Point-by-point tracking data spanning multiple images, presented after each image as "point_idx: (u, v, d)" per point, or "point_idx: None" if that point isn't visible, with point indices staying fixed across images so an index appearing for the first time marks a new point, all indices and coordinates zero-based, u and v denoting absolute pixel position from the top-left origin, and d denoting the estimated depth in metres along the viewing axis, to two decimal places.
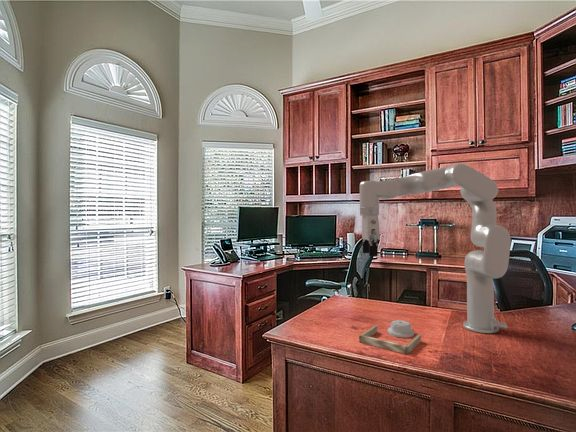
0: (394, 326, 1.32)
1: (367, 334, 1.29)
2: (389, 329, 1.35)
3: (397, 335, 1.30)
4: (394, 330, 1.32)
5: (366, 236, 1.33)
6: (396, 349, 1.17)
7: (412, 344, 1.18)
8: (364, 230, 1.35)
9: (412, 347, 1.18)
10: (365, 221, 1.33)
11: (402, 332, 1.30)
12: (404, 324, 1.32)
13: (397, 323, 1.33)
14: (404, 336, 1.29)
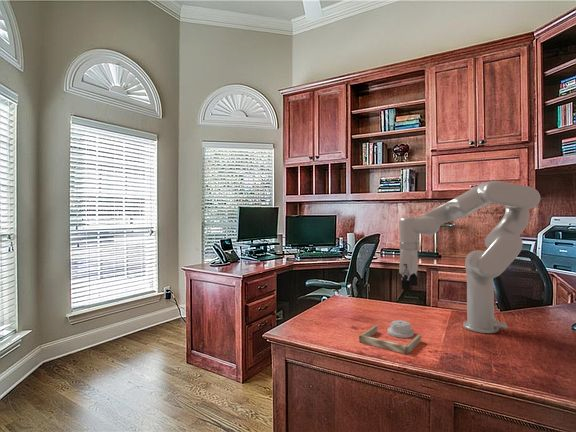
0: (394, 326, 1.32)
1: (367, 334, 1.29)
2: (389, 329, 1.35)
3: (397, 335, 1.30)
4: (394, 330, 1.32)
5: (416, 268, 1.43)
6: (396, 349, 1.17)
7: (412, 344, 1.18)
8: (416, 264, 1.42)
9: (412, 347, 1.18)
10: (416, 255, 1.43)
11: (402, 332, 1.30)
12: (404, 324, 1.32)
13: (397, 323, 1.33)
14: (404, 336, 1.29)
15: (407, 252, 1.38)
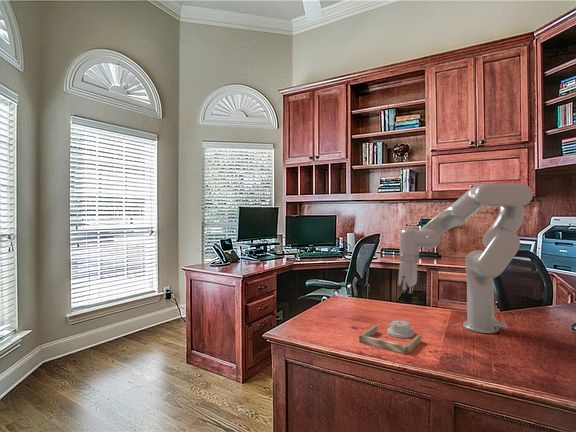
0: (394, 326, 1.32)
1: (367, 334, 1.29)
2: (389, 329, 1.35)
3: (397, 335, 1.30)
4: (394, 330, 1.32)
5: (415, 281, 1.44)
6: (396, 349, 1.17)
7: (412, 344, 1.18)
8: (415, 276, 1.42)
9: (412, 347, 1.18)
10: (416, 267, 1.43)
11: (402, 332, 1.30)
12: (404, 324, 1.32)
13: (397, 323, 1.33)
14: (404, 336, 1.29)
15: (406, 264, 1.39)
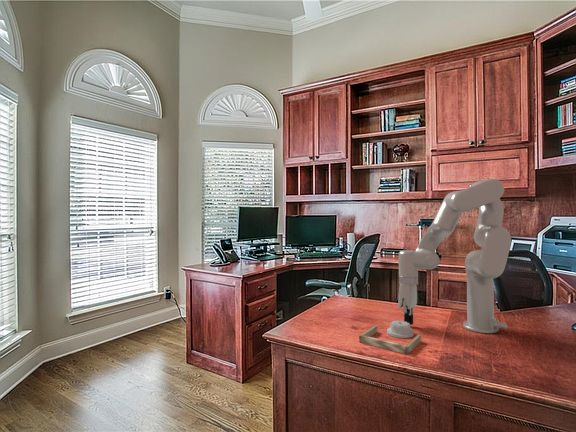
0: (393, 326, 1.32)
1: (367, 334, 1.29)
2: (388, 329, 1.35)
3: (396, 335, 1.30)
4: (393, 330, 1.32)
5: (416, 302, 1.42)
6: (396, 349, 1.17)
7: (412, 344, 1.18)
8: (415, 297, 1.41)
9: (412, 347, 1.18)
10: (416, 288, 1.42)
11: (401, 332, 1.30)
12: (403, 324, 1.32)
13: (396, 323, 1.33)
14: (403, 336, 1.29)
15: (406, 287, 1.37)
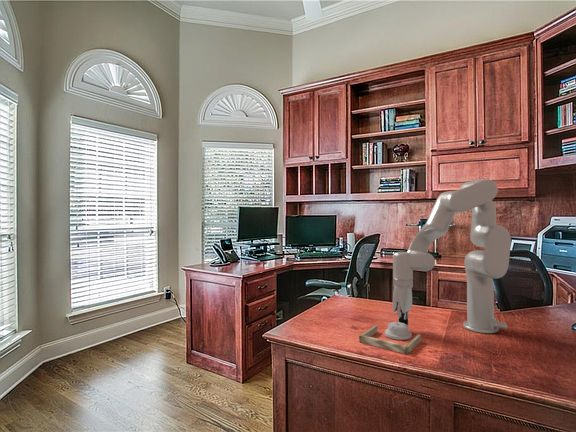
0: (391, 328, 1.30)
1: (367, 334, 1.29)
2: (386, 331, 1.33)
3: (394, 337, 1.28)
4: (391, 332, 1.30)
5: (411, 305, 1.37)
6: (396, 349, 1.17)
7: (412, 344, 1.18)
8: (410, 301, 1.36)
9: (412, 347, 1.18)
10: (411, 291, 1.37)
11: (399, 334, 1.28)
12: (401, 326, 1.30)
13: (394, 325, 1.31)
14: (401, 338, 1.27)
15: (400, 290, 1.32)
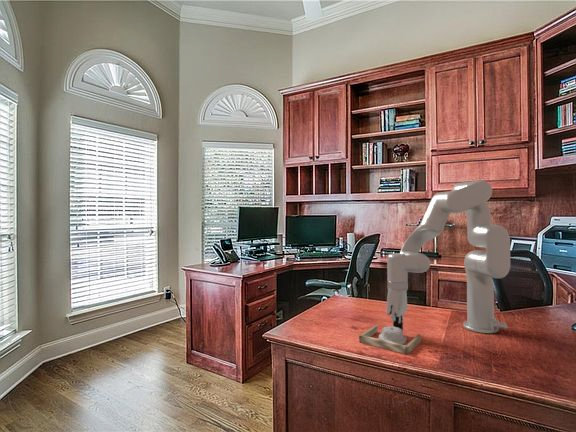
0: (385, 333, 1.25)
1: (367, 334, 1.29)
2: (380, 336, 1.29)
3: None
4: (385, 337, 1.25)
5: (406, 309, 1.33)
6: (396, 349, 1.17)
7: (412, 344, 1.18)
8: (404, 304, 1.31)
9: (412, 347, 1.18)
10: (405, 294, 1.32)
11: (393, 339, 1.24)
12: (396, 331, 1.25)
13: (388, 329, 1.27)
14: None
15: (394, 293, 1.28)
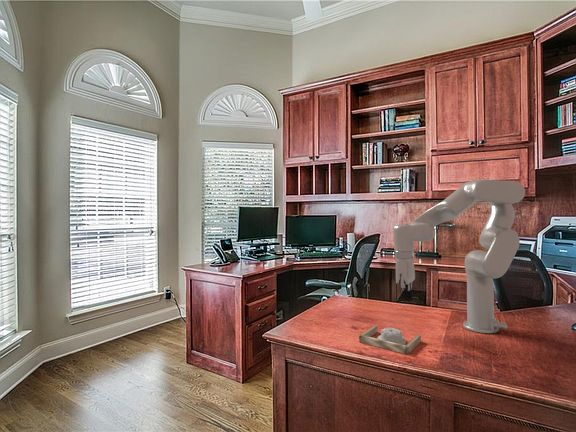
0: (384, 334, 1.24)
1: (367, 334, 1.29)
2: (379, 337, 1.27)
3: None
4: (384, 339, 1.24)
5: (414, 277, 1.39)
6: (396, 349, 1.17)
7: (412, 344, 1.18)
8: (412, 272, 1.37)
9: (412, 347, 1.18)
10: (413, 263, 1.38)
11: (393, 341, 1.22)
12: (395, 332, 1.24)
13: (387, 331, 1.25)
14: None
15: (402, 261, 1.33)
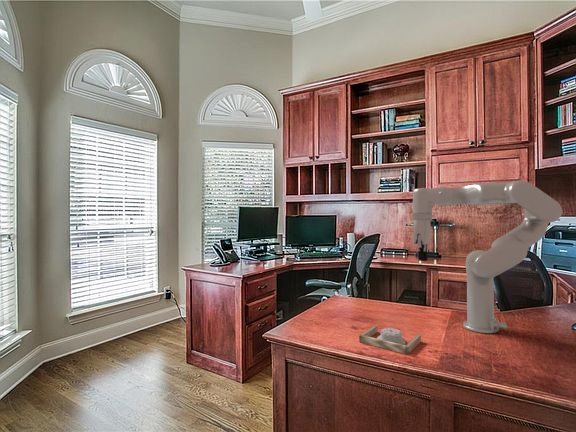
0: (384, 335, 1.23)
1: (367, 334, 1.29)
2: (379, 338, 1.27)
3: None
4: (384, 339, 1.23)
5: (430, 239, 1.45)
6: (396, 349, 1.17)
7: (412, 344, 1.18)
8: (429, 234, 1.43)
9: (412, 347, 1.18)
10: (430, 225, 1.44)
11: (392, 341, 1.22)
12: (395, 333, 1.23)
13: (387, 331, 1.25)
14: None
15: (420, 222, 1.40)
